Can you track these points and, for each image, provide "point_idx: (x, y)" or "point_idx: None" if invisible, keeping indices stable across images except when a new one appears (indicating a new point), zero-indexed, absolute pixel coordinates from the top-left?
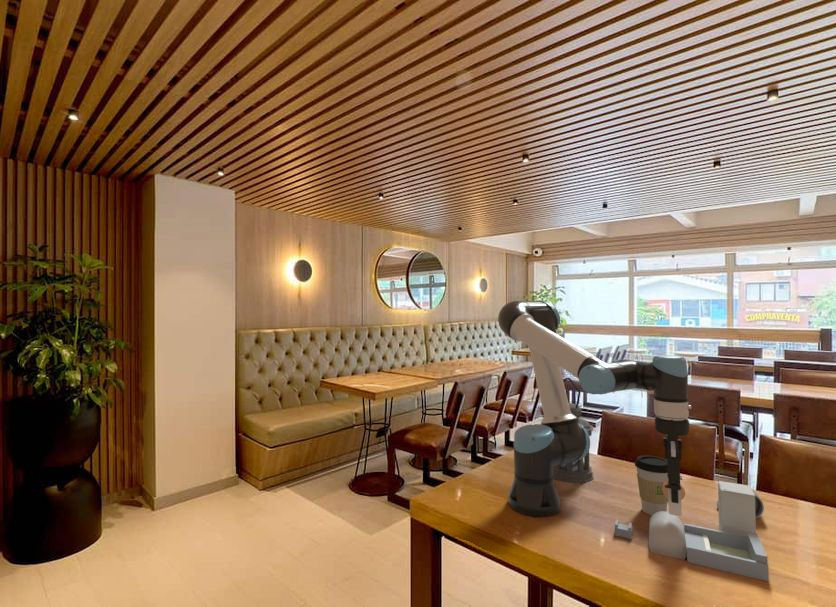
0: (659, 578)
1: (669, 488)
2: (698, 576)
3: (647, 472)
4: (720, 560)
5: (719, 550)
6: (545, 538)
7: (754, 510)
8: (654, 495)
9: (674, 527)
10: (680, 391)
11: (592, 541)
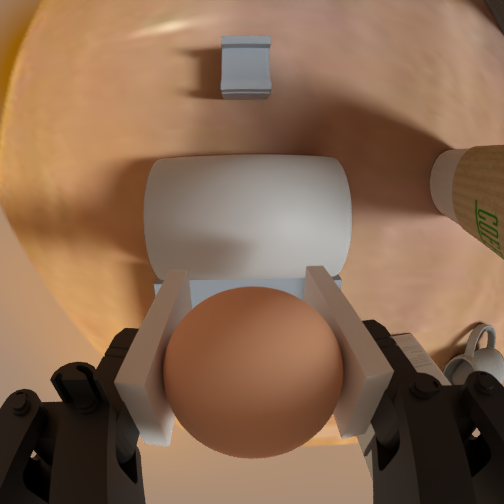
0: (53, 200)
1: (118, 386)
2: (113, 283)
3: None
4: None
5: None
6: None
7: (362, 451)
8: (472, 195)
9: (208, 262)
10: None
11: (148, 10)
